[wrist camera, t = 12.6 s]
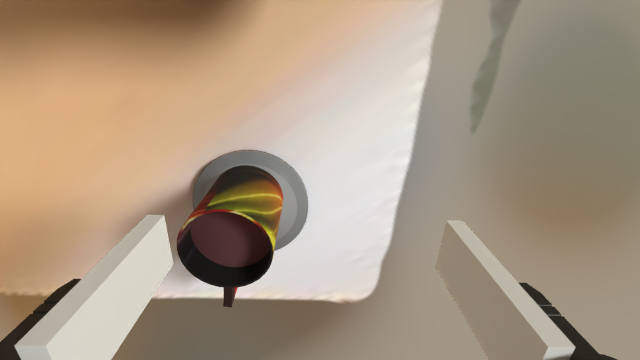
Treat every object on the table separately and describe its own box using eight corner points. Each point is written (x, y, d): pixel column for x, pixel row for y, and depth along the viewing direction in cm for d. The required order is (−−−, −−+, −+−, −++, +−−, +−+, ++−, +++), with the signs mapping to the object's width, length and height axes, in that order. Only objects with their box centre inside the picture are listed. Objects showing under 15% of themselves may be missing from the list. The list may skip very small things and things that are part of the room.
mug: (242, 257, 45) (220, 323, 34) (200, 177, 40) (158, 225, 29) (302, 240, 44) (299, 302, 33) (268, 156, 39) (250, 196, 28)
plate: (188, 148, 40) (184, 151, 39) (309, 151, 40) (309, 154, 39) (202, 248, 46) (199, 253, 45) (306, 249, 47) (306, 255, 45)
